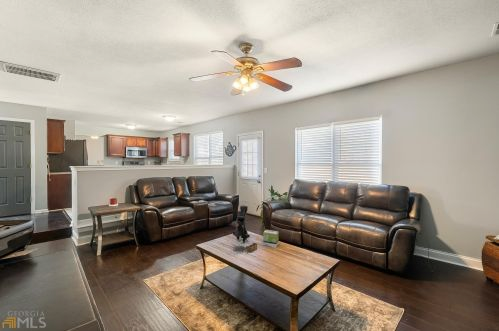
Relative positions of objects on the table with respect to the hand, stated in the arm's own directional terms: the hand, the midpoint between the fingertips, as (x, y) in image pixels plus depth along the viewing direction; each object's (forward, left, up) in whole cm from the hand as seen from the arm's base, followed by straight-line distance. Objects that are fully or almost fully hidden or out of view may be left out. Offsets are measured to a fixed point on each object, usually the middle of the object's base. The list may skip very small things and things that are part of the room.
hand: (241, 242), depth 232 cm
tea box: (+18, +29, -7) cm, 35 cm away
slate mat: (0, 0, -7) cm, 7 cm away
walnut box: (+11, +4, -7) cm, 13 cm away
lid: (0, 0, +1) cm, 1 cm away
